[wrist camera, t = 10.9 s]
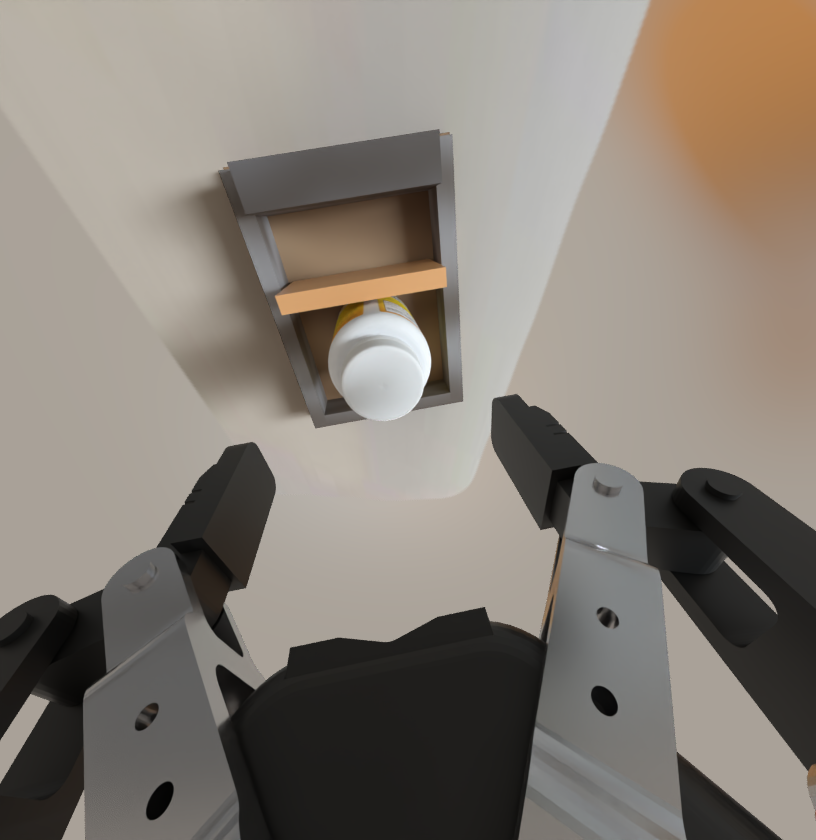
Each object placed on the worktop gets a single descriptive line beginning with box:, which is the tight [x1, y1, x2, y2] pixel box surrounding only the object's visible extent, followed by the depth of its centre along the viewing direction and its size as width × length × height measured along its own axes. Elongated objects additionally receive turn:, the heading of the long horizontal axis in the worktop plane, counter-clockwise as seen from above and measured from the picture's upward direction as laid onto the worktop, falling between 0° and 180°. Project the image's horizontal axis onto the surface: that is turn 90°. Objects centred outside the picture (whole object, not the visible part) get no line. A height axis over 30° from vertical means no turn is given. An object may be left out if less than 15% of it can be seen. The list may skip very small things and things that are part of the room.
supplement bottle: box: [328, 296, 431, 421], centre depth 18 cm, size 6×6×10 cm
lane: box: [219, 129, 463, 428], centre depth 20 cm, size 17×13×5 cm
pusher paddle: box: [275, 259, 447, 315], centre depth 18 cm, size 1×9×5 cm, turn 98°
